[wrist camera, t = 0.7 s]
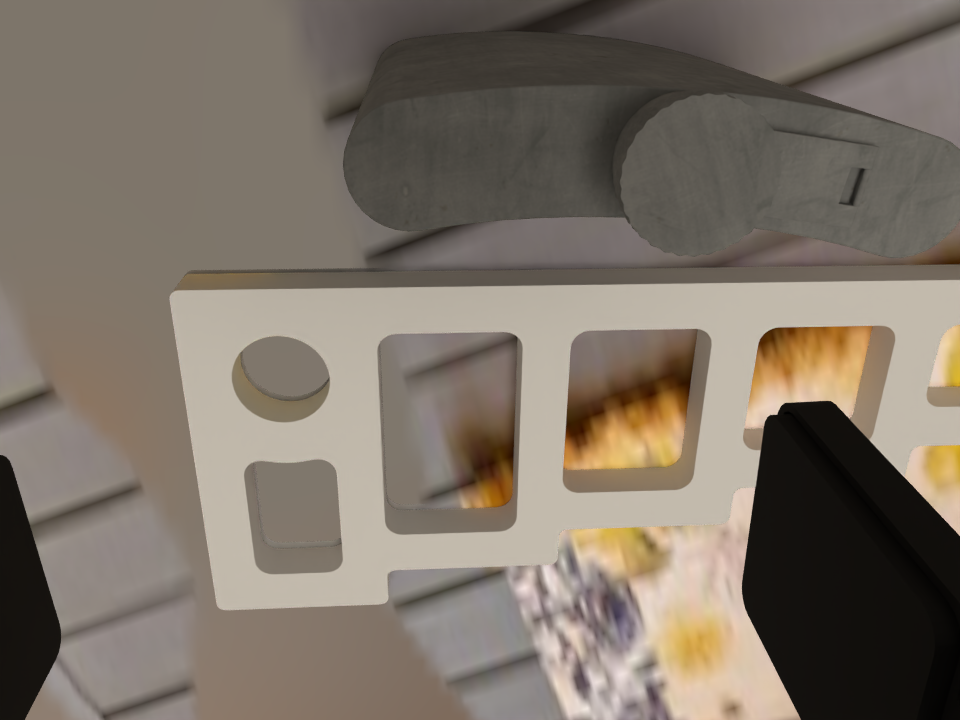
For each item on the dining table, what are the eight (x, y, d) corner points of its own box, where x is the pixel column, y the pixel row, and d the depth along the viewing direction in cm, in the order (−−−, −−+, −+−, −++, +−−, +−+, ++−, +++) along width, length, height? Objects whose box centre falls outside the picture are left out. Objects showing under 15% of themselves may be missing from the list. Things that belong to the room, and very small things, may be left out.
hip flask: (374, 114, 37) (333, 260, 19) (376, 13, 35) (334, 66, 17) (729, 138, 38) (1010, 294, 20) (748, 42, 37) (1073, 119, 18)
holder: (1097, 259, 43) (1138, 277, 40) (1000, 549, 50) (1030, 579, 48) (183, 270, 40) (168, 290, 37) (227, 576, 47) (217, 610, 45)
